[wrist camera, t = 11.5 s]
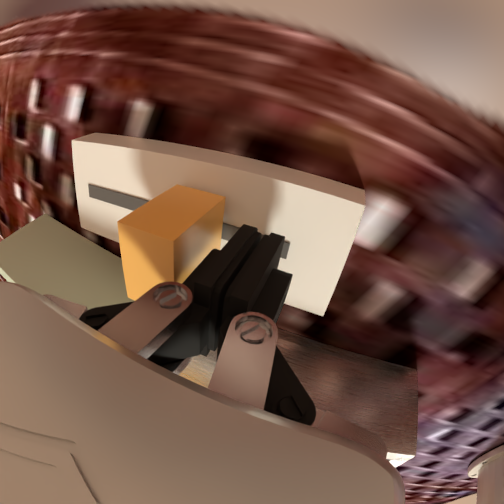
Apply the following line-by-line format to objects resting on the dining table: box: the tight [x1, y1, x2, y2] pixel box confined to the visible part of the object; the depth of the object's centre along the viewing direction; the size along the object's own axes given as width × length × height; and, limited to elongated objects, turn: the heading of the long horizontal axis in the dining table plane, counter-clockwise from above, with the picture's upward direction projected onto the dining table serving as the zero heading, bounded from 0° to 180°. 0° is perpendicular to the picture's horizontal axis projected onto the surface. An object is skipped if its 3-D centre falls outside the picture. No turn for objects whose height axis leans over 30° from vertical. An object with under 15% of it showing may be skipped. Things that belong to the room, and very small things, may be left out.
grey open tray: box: [179, 328, 418, 467], centre depth 20 cm, size 16×16×6 cm
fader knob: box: [117, 184, 226, 301], centre depth 12 cm, size 2×4×4 cm, turn 171°
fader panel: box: [72, 133, 365, 316], centre depth 15 cm, size 16×6×2 cm, turn 81°
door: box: [0, 214, 134, 310], centre depth 17 cm, size 1×16×7 cm, turn 74°
